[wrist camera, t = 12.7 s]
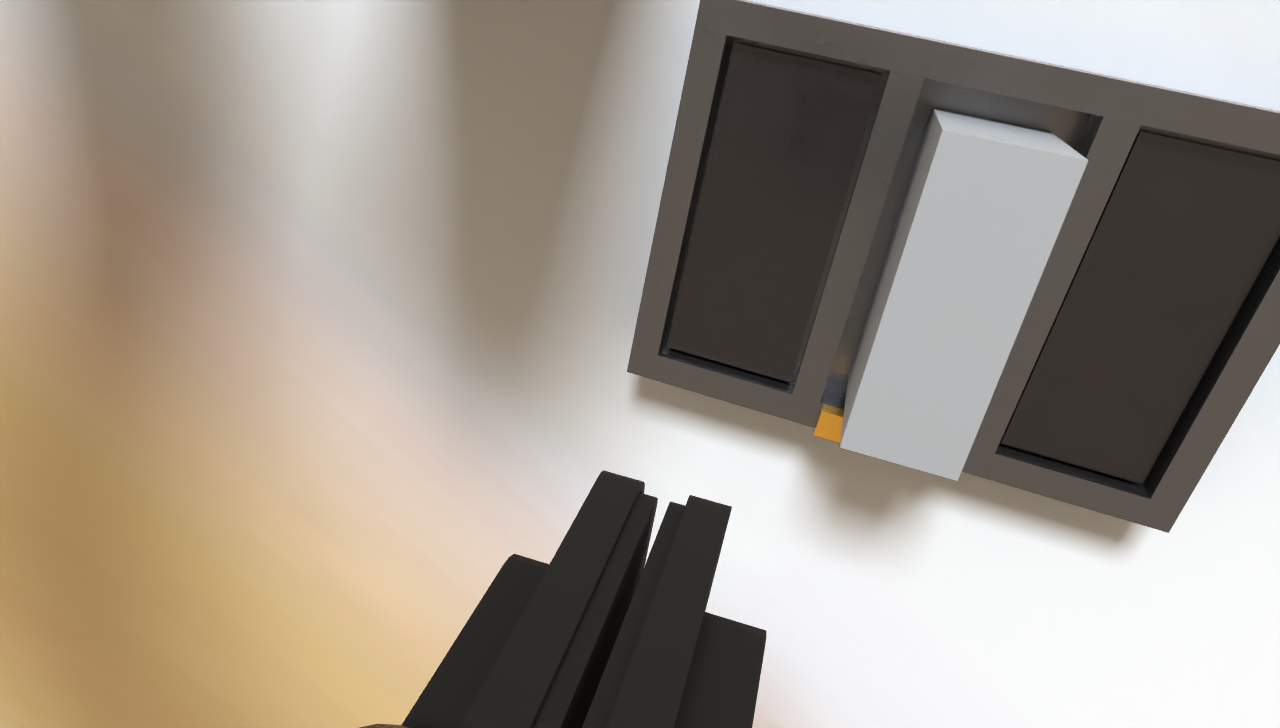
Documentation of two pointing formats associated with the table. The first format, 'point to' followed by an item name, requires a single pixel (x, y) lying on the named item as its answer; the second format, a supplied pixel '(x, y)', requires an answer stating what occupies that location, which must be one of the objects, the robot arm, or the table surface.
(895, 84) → the rack
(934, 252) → the rectangular block
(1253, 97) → the table surface
